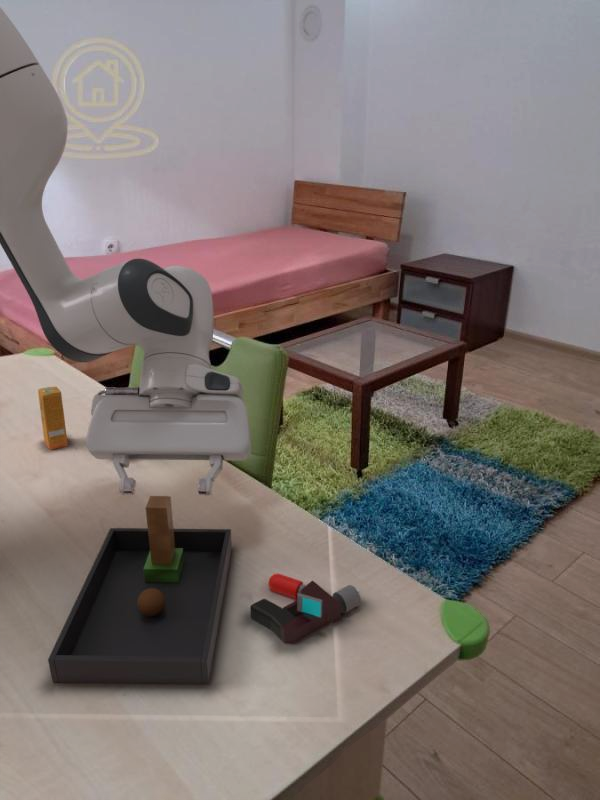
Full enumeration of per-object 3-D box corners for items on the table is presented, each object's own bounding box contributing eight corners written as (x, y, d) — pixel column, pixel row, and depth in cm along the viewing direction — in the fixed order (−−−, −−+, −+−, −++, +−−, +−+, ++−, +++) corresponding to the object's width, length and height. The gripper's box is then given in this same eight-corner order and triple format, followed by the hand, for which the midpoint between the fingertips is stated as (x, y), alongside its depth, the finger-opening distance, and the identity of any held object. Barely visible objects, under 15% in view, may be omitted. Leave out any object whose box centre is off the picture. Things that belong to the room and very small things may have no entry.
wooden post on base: (144, 582, 75) (136, 511, 71) (152, 560, 78) (144, 491, 74) (178, 582, 75) (172, 511, 71) (184, 561, 78) (178, 492, 74)
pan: (53, 687, 62) (47, 659, 60) (113, 550, 81) (110, 527, 80) (208, 688, 62) (206, 661, 60) (231, 552, 81) (230, 529, 79)
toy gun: (370, 607, 72) (372, 573, 70) (286, 658, 65) (286, 621, 63) (316, 564, 79) (316, 532, 77) (235, 605, 72) (233, 571, 70)
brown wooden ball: (135, 622, 69) (132, 601, 68) (141, 603, 72) (139, 582, 70) (163, 622, 69) (160, 601, 68) (168, 603, 72) (166, 582, 70)
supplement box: (70, 445, 107) (62, 391, 103) (49, 451, 105) (40, 396, 101) (65, 438, 109) (56, 384, 105) (44, 443, 107) (34, 389, 103)
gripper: (86, 377, 78) (71, 487, 73) (251, 379, 78) (247, 488, 73) (101, 396, 84) (88, 498, 79) (254, 397, 84) (251, 500, 79)
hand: (165, 494), depth 76 cm, fingers open, 8 cm apart
